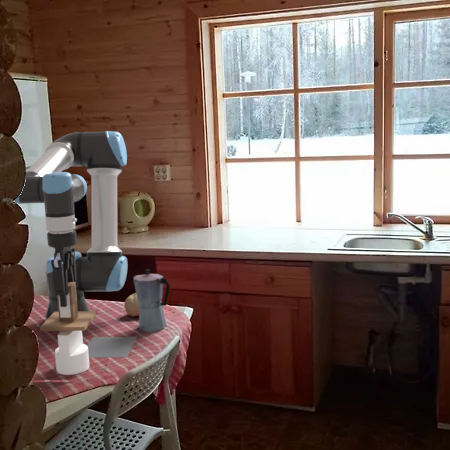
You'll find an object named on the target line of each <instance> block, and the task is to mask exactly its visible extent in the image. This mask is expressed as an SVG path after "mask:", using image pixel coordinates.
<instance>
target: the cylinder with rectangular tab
mask: <svg viewBox="0 0 450 450" xmlns="http://www.w3.org/2000/svg"><path fill="white" fill-rule="evenodd" d="M83 339H84V338H83V331H59V333H58V334H57V342H58V343H57V344H58V347H57V348H55V350H54V357H55V359H54V360H55V370H56V372H57V373H58V374H61V375H64V376H71V375H77V374H81V373H84V372H85V371H87V370H89V368H90V358H89V353H88V344H85V343H84V340H83Z"/></svg>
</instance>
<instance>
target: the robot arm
mask: <svg viewBox="0 0 450 450" xmlns="http://www.w3.org/2000/svg"><path fill="white" fill-rule="evenodd" d="M127 153H128V152H127V147H126V143H125V140H124V137H123V135H122V134H121V133H120V132H119V131H111V130H109V131H108V130H104V131H101V130H99V131H75V132H72V133H68V134H65V135H63V136H60V137H58V138H57V139H55V140H53V141H52V142H51V143H50V144H49V145H48V146H47V147H46V148H45V152H44V154H43V155H41V156H40V157H39V158H38V159H37V160H36V161H35V162H34V163H33V164H32V165H30V166H29V167H28V169H27V170H25V171H26V182H25V186H24V188H23V191H22V193H21V195H20V196H19V197H18V198H17V199H16V200H15V202H16V203H15V204H18V205H21V204H44V215H45V217H44V218H45V227H46V228H45V230H46V231H47V234H46V238H47V246H48V247H49V248H53V249H54V253H53V256H51V257H49V258H48V259H46V262H45V263H46V264H45V273H46V284H47V294H48V304H47V308H46V312H45V315H44V319H45V320H44V322H45V321H46V320H47V319H48V318H49V317H50V316H51V315H52V314H53V313H54V312H59V310H58V299H57V295H59V307H60V318H70V317H71V309H70V297H69V294H68V282H76V294H77V307H78V311H91V310H90V307H89V306H88V302H87V300H86V298H85V293H84V292H119V291H120V290H121V289H123V287H124V286H125V282H126V280H127V274H128V266H129V265H128V258H127V257H126V256H125V255H123V250H122V249H120V247H119V246H118V245H119V244H118V176H119V175H120V174H121V173H122V172H123V171H122V170H123V169H122V167H124V166H127V162H128V161H127V160H128V155H127ZM70 167H86V172H87V173H88V174H89V175H90V177H91V247H89V249H88V250H87V251H86V256H82V254H81V252H79V251H76V248H73V246H75V245H76V244H77V242H78V239H77V231H76V230H75V229H76V227H77V226H76V223H77V221H78V219H77V218H76V217H75V216H76V215H75V212H76V211H75V203H76V202H79V201H80V200H81V199H83V197H84V196H85V195H86V193H87V191H88V185H87V184H88V183H87V182H86V180H85V179H84V177H83V176H81V175H79V174H76V173H75V174H74V173H72V174H71V173H70V172H67V171H65V170H67V169H69V168H70Z"/></svg>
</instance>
